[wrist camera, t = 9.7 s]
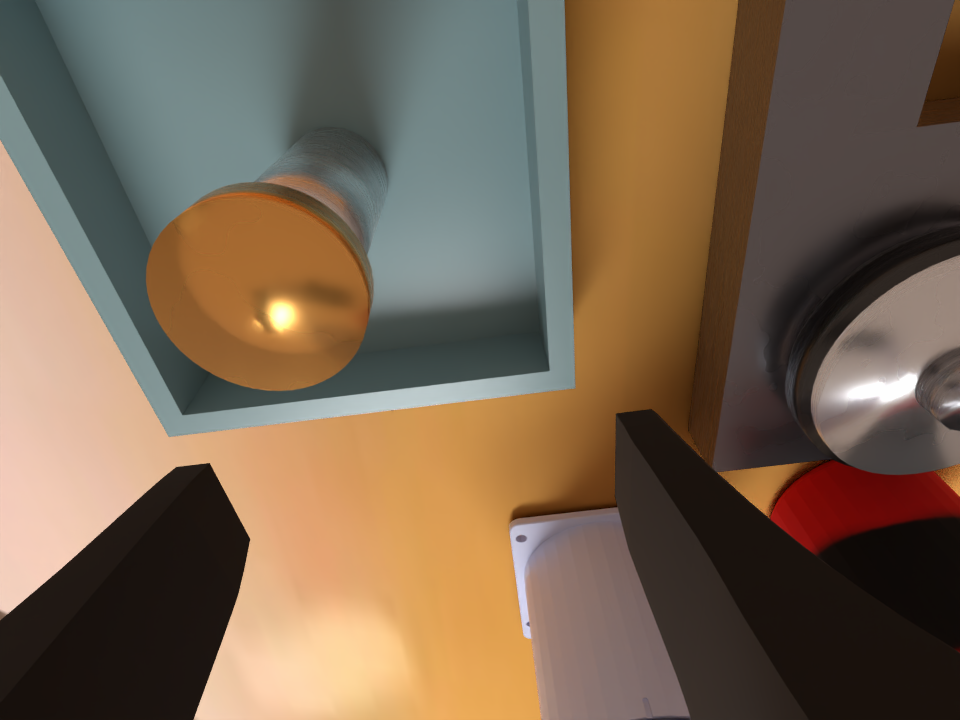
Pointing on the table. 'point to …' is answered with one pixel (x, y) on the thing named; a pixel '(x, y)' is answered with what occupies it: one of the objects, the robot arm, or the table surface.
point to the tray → (277, 127)
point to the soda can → (884, 538)
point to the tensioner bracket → (833, 245)
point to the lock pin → (275, 266)
